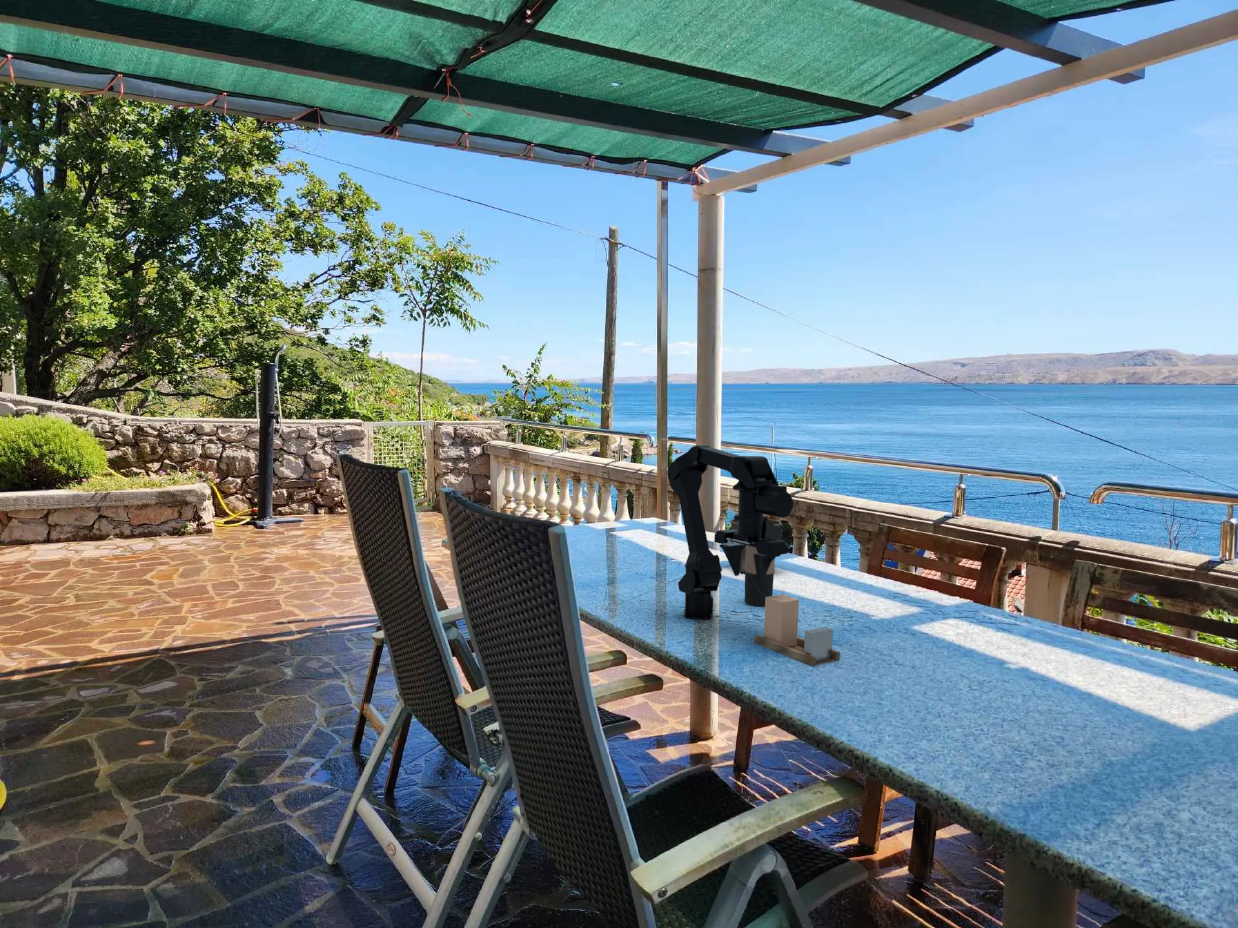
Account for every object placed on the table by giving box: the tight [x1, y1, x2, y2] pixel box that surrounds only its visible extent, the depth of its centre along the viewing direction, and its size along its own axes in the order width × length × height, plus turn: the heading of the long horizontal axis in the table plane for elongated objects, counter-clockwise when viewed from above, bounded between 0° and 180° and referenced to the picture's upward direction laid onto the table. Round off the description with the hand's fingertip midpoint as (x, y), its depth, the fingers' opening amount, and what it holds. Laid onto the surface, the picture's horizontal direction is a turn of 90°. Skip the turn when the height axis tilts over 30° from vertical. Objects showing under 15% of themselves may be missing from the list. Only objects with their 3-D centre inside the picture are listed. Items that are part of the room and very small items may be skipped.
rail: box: [753, 634, 841, 667], centre depth 160 cm, size 17×8×2 cm, turn 32°
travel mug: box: [744, 539, 775, 608], centre depth 201 cm, size 8×8×20 cm
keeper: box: [763, 594, 800, 647], centre depth 164 cm, size 5×5×10 cm
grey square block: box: [804, 626, 834, 662], centre depth 155 cm, size 2×6×7 cm, turn 122°
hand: (748, 579), depth 173 cm, fingers open, 8 cm apart
